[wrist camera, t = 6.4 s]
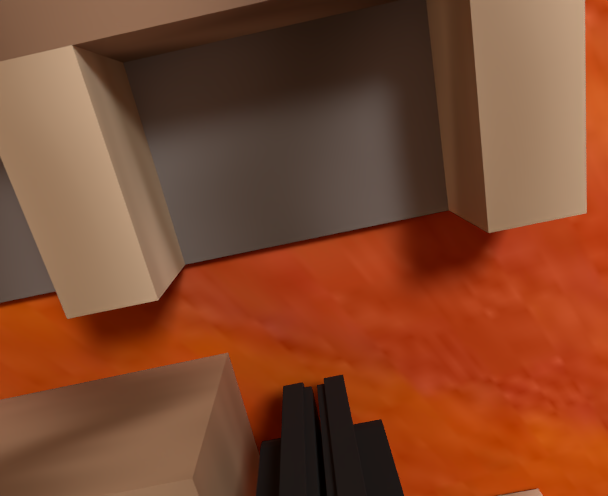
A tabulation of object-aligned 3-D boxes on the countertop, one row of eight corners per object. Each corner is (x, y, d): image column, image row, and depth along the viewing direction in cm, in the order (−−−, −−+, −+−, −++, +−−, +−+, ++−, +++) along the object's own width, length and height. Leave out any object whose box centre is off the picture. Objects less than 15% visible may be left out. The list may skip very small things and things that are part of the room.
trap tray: (507, -74, 9) (583, -143, 7) (539, 511, 14) (589, 591, 12) (-453, 147, 10) (-688, 154, 8) (-107, 627, 15) (-183, 723, 12)
